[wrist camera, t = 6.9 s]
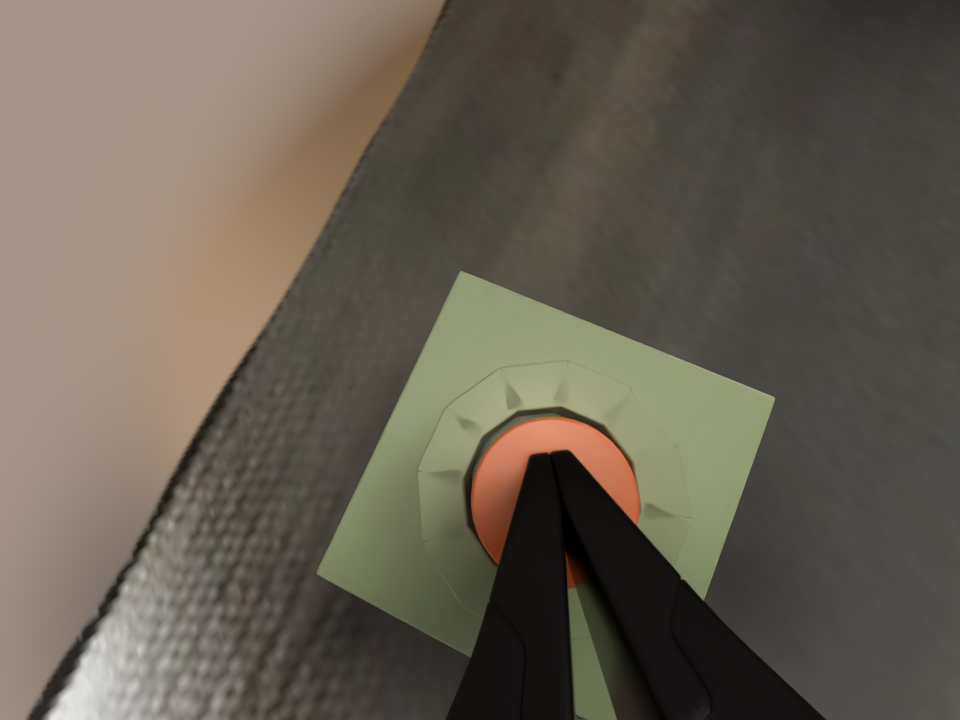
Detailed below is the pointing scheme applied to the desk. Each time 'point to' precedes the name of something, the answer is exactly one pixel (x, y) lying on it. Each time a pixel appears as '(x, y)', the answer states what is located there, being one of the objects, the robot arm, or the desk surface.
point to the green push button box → (517, 398)
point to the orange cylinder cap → (508, 463)
